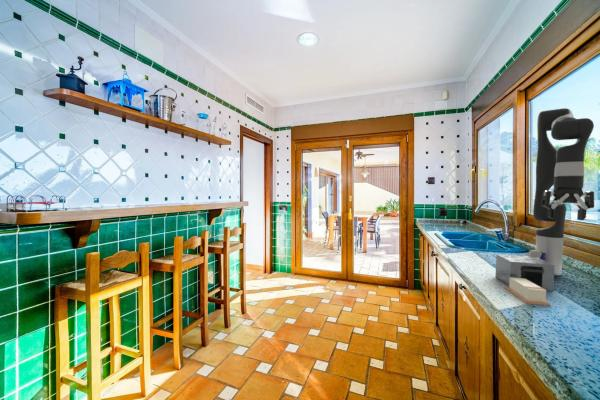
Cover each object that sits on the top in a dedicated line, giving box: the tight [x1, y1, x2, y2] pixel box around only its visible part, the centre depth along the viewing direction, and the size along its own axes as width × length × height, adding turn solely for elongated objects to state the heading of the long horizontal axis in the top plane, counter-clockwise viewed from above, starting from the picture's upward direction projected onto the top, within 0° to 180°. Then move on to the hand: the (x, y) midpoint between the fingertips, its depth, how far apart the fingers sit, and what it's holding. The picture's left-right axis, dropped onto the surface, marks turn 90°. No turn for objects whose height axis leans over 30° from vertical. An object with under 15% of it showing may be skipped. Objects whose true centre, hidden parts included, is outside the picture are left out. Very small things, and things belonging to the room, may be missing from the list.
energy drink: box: [529, 249, 546, 261], centre depth 113 cm, size 5×5×12 cm
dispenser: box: [495, 253, 555, 292], centre depth 106 cm, size 13×14×10 cm
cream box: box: [509, 277, 547, 302], centre depth 93 cm, size 12×5×4 cm, turn 166°
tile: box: [504, 285, 552, 307], centre depth 94 cm, size 14×7×1 cm, turn 165°
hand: (566, 219), depth 94 cm, fingers open, 8 cm apart
